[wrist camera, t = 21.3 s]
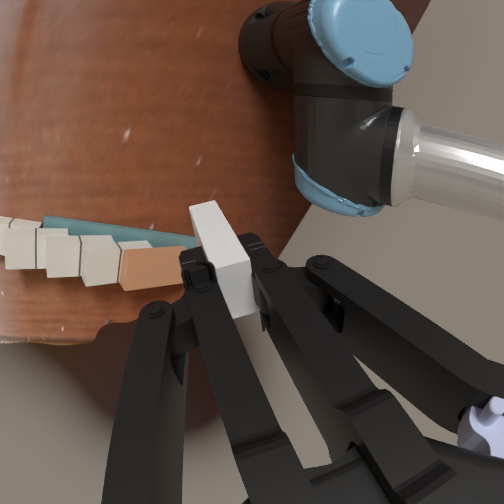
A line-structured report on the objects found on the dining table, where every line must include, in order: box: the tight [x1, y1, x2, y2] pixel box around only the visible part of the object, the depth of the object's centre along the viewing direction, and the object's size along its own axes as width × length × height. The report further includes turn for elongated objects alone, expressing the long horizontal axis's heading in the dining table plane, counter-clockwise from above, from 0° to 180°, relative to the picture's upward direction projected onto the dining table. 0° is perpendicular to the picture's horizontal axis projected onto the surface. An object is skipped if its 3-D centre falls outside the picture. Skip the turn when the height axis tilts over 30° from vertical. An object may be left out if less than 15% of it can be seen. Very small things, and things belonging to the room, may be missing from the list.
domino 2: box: [4, 228, 69, 269], centre depth 42 cm, size 2×6×11 cm
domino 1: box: [0, 216, 42, 256], centre depth 42 cm, size 2×6×11 cm
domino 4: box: [82, 240, 153, 287], centre depth 48 cm, size 2×6×11 cm
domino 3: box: [46, 235, 114, 278], centre depth 45 cm, size 2×6×11 cm
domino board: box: [43, 215, 198, 249], centre depth 51 cm, size 28×9×1 cm, turn 72°
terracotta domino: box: [119, 246, 187, 291], centre depth 50 cm, size 2×6×11 cm
